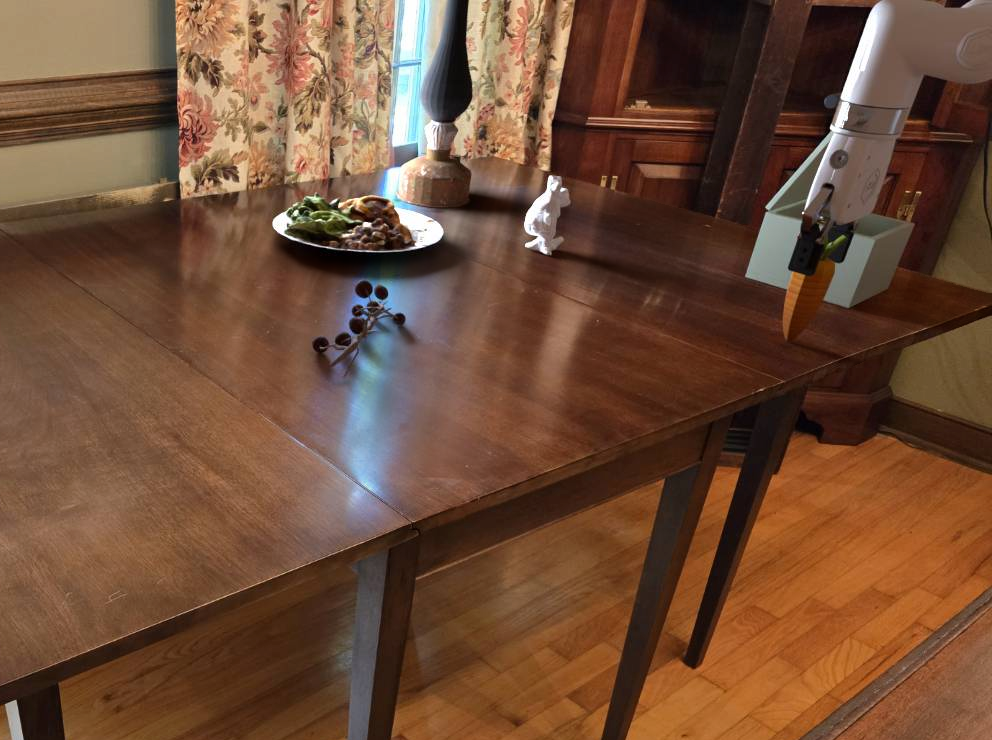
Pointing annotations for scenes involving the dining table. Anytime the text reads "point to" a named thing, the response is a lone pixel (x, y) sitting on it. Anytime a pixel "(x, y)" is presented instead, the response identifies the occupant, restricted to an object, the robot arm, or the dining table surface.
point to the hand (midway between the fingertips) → (815, 265)
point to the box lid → (804, 169)
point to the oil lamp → (442, 120)
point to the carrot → (808, 292)
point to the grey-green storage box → (853, 278)
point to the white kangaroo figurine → (547, 216)
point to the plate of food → (357, 225)
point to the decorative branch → (359, 323)
